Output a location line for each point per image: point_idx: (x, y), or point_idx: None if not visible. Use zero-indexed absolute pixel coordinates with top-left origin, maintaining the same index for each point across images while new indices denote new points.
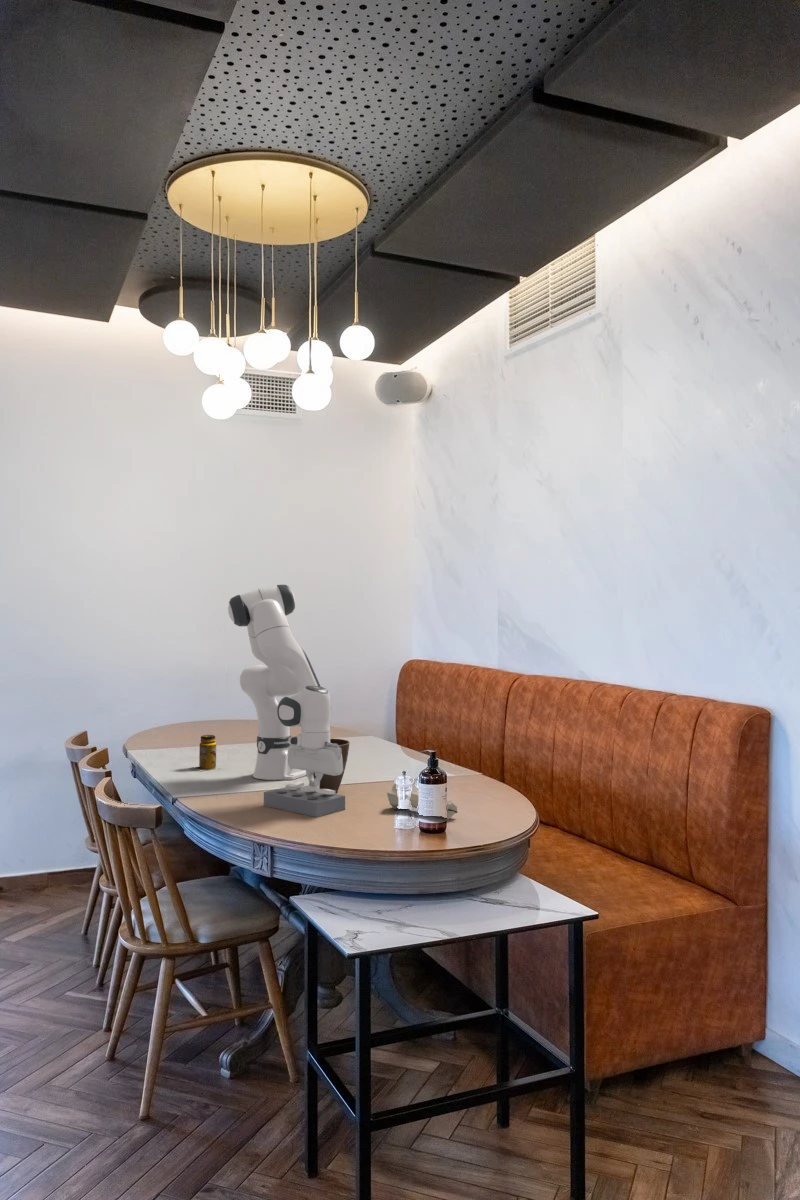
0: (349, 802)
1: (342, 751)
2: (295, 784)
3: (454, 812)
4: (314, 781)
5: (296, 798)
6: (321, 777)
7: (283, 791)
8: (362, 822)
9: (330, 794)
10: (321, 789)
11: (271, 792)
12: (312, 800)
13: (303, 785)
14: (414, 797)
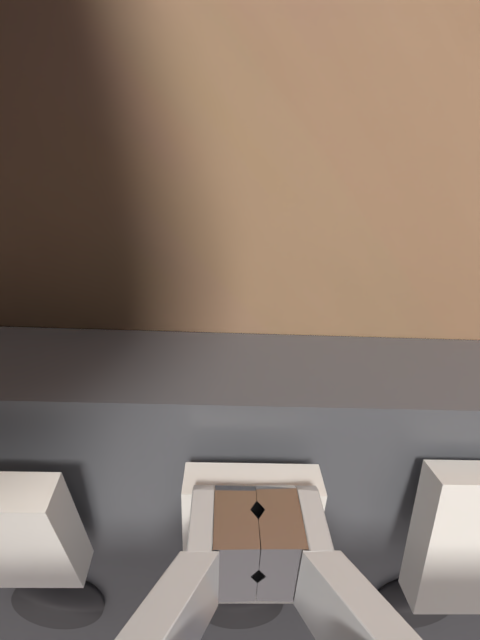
0: (474, 94)
1: None
2: (29, 560)
3: None
4: (298, 601)
5: (299, 637)
6: (390, 614)
7: (55, 593)
8: None
9: (475, 452)
10: (468, 602)
11: (6, 627)
12: (436, 621)
13: (62, 480)
14: None
